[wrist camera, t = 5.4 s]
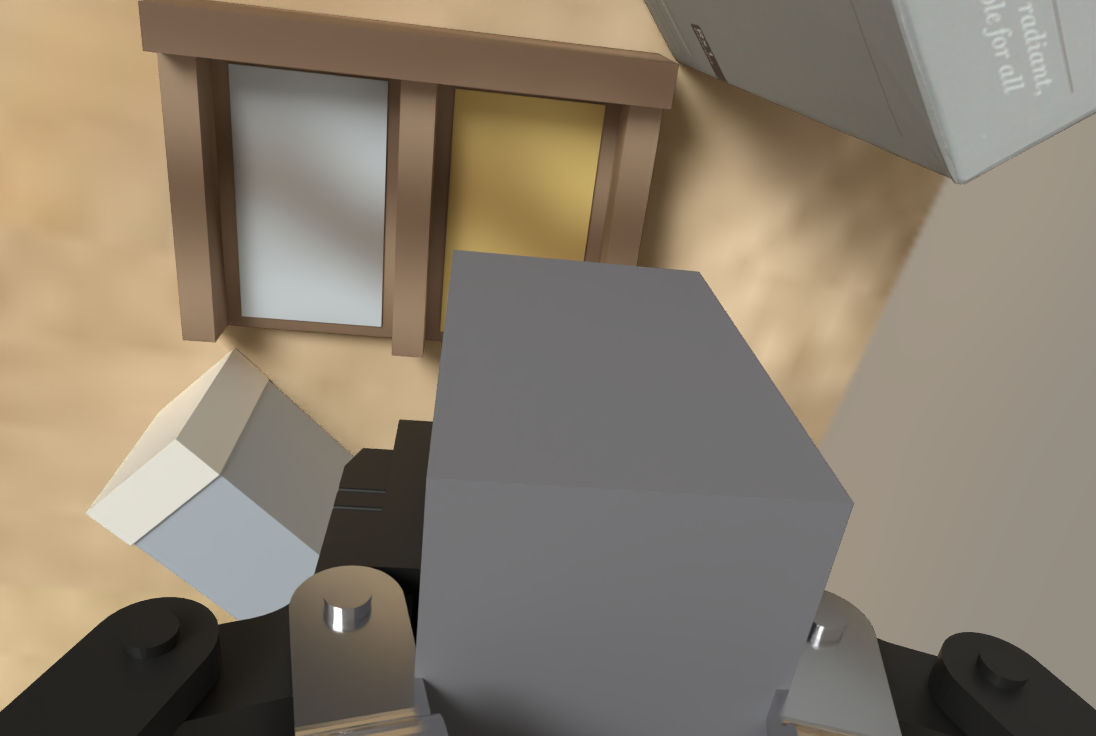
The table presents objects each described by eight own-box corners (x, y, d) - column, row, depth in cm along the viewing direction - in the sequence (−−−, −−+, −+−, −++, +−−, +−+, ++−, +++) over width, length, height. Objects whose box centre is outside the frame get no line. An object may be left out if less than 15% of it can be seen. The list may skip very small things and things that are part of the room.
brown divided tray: (610, 346, 29) (622, 385, 27) (202, 315, 28) (172, 353, 25) (658, 53, 25) (678, 64, 22) (177, -4, 23) (138, 1, 21)
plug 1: (375, 474, 31) (352, 582, 26) (302, 528, 32) (265, 644, 27) (234, 347, 28) (175, 439, 23) (159, 410, 29) (85, 513, 24)
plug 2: (449, 249, 12) (420, 484, 7) (702, 271, 13) (863, 510, 7) (426, 604, 15) (392, 961, 10) (629, 613, 16) (705, 960, 10)
